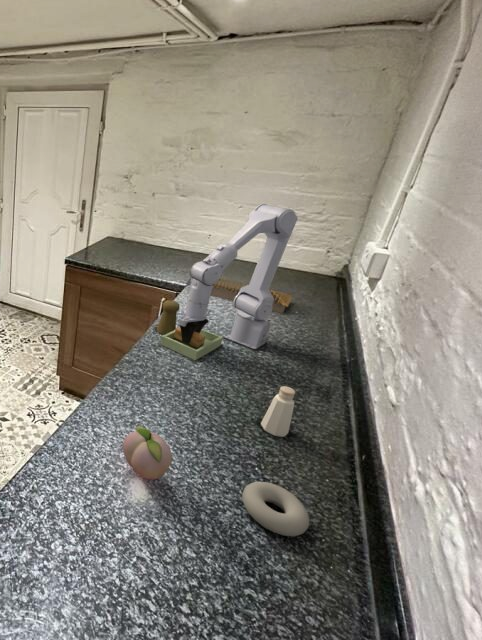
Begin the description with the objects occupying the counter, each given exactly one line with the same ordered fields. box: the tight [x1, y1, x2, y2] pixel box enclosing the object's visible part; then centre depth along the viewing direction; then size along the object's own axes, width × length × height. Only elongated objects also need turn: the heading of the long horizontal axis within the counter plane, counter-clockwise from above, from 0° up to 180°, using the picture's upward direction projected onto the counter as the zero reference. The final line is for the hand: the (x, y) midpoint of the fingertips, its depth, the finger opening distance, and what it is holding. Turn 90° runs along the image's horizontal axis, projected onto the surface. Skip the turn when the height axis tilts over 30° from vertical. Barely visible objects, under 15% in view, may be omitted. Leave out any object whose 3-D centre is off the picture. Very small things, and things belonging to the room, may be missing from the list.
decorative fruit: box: [122, 426, 173, 480], centre depth 77 cm, size 9×8×10 cm
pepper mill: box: [156, 299, 180, 335], centre depth 133 cm, size 6×6×11 cm
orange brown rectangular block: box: [173, 326, 206, 350], centre depth 125 cm, size 8×4×4 cm, turn 37°
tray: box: [160, 328, 224, 361], centre depth 126 cm, size 12×16×3 cm
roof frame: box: [210, 277, 294, 314], centre depth 165 cm, size 35×14×6 cm, turn 48°
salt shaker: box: [260, 385, 296, 438], centre depth 89 cm, size 5×5×11 cm
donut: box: [241, 481, 310, 537], centre depth 70 cm, size 10×4×10 cm
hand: (189, 340), depth 125 cm, fingers closed on orange brown rectangular block, 3 cm apart
